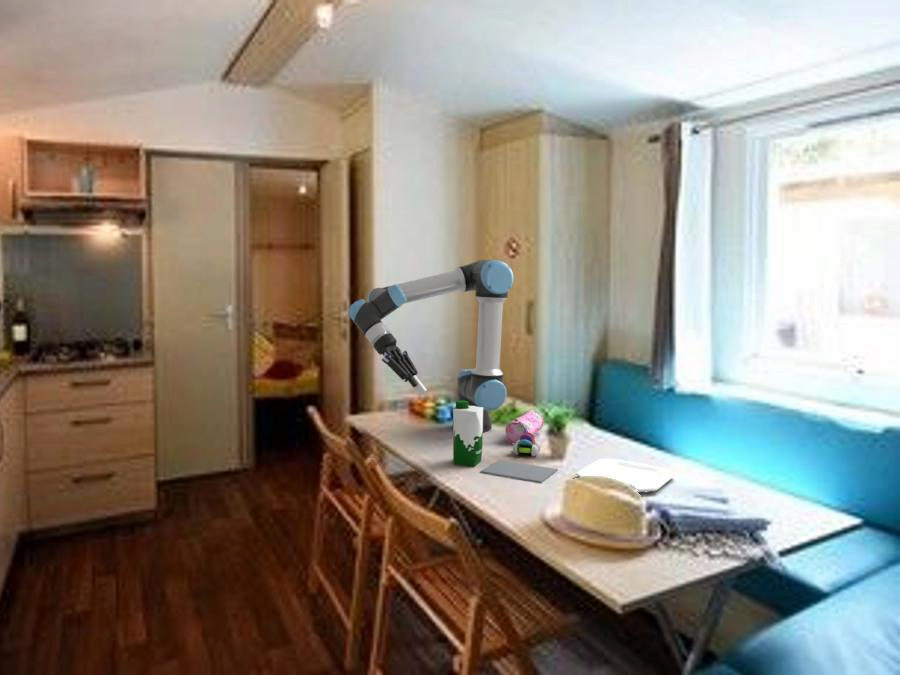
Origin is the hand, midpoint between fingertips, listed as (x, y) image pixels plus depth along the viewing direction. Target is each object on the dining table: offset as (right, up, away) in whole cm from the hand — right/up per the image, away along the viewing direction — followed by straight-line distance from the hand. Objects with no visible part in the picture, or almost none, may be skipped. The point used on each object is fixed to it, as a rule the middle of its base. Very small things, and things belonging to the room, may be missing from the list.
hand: (423, 393), depth 231 cm
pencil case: (+36, -19, +27) cm, 49 cm away
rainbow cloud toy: (+35, -21, +7) cm, 41 cm away
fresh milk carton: (+14, -22, -5) cm, 27 cm away
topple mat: (+30, -23, -14) cm, 40 cm away
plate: (+62, -25, -19) cm, 69 cm away
